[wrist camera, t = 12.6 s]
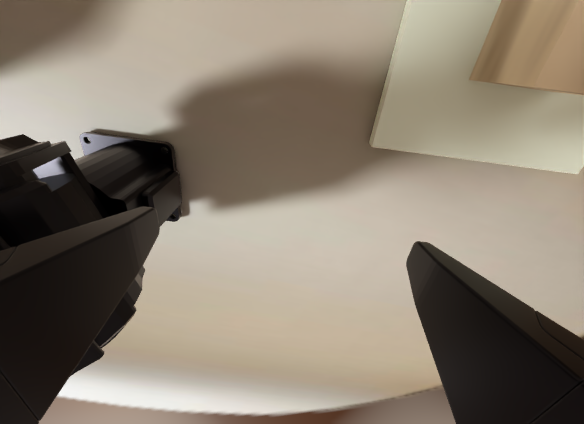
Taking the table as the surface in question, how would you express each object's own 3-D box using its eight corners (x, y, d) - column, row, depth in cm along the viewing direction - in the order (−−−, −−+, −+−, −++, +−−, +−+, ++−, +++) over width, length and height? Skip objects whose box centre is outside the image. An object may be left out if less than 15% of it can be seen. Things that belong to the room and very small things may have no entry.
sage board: (369, 143, 18) (372, 147, 17) (453, -178, 11) (465, -198, 10) (564, 169, 18) (577, 174, 18) (765, -130, 12) (803, -146, 11)
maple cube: (468, 79, 15) (533, 86, 11) (515, -35, 13) (623, -85, 8) (552, 91, 15) (650, 102, 11) (615, -20, 13) (772, -62, 8)
